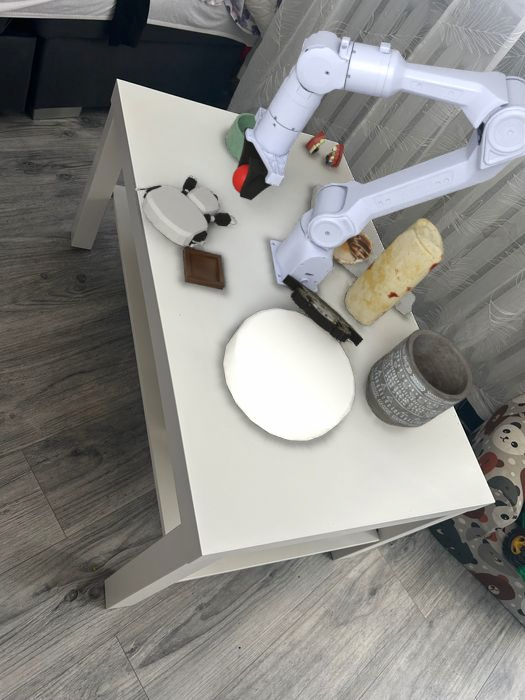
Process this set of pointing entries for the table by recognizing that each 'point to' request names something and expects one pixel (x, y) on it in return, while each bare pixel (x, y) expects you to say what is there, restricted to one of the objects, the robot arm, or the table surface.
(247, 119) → the bowl
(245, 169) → the apple
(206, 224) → the robot toy
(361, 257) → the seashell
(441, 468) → the table surface
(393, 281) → the food model
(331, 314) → the emblem
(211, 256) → the coaster
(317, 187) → the toy gun
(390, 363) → the planter
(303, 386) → the container
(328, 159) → the dentures model
